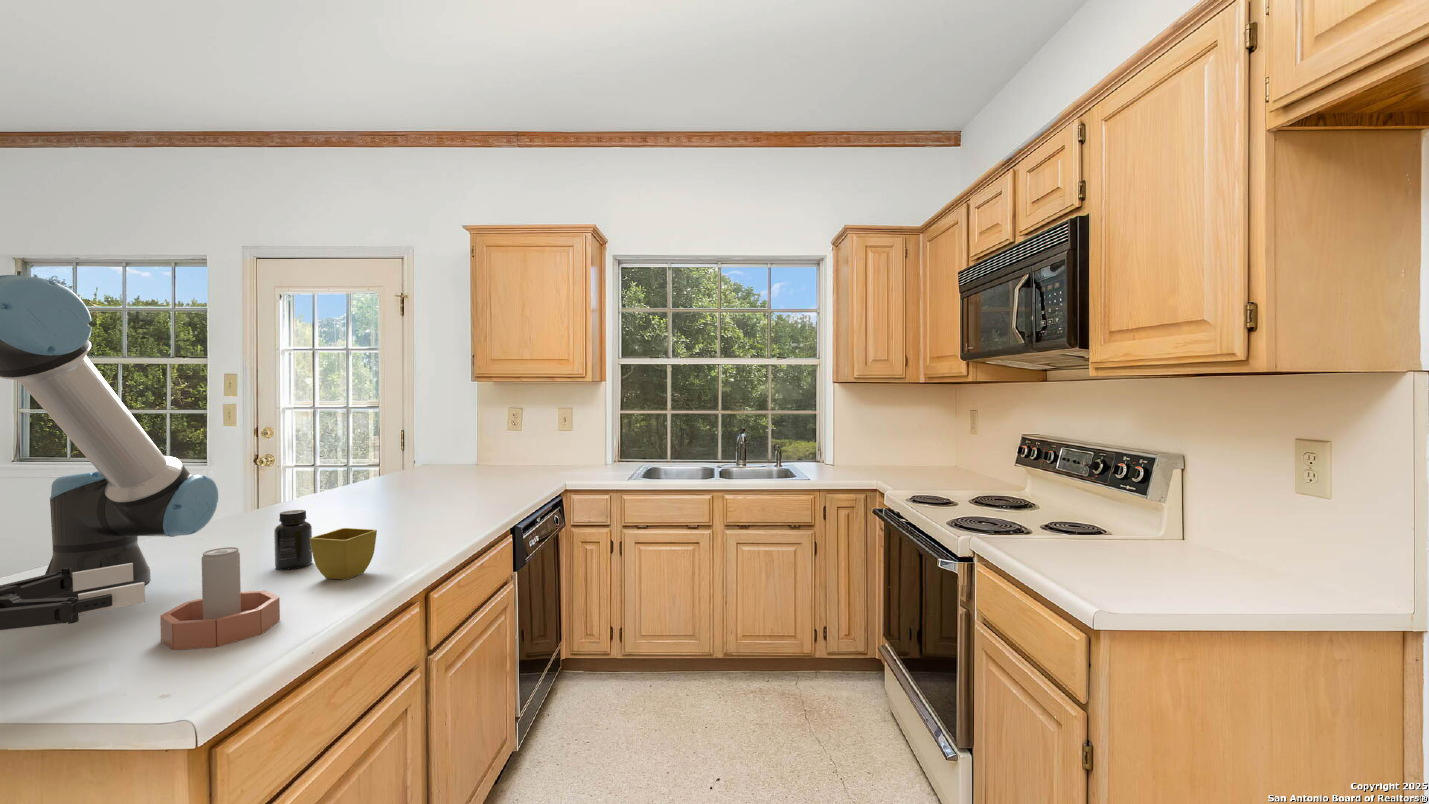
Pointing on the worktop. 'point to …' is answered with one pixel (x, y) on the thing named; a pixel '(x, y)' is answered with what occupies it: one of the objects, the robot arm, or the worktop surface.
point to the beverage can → (221, 583)
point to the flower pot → (343, 552)
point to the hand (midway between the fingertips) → (138, 581)
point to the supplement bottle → (293, 540)
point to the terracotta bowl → (219, 622)
